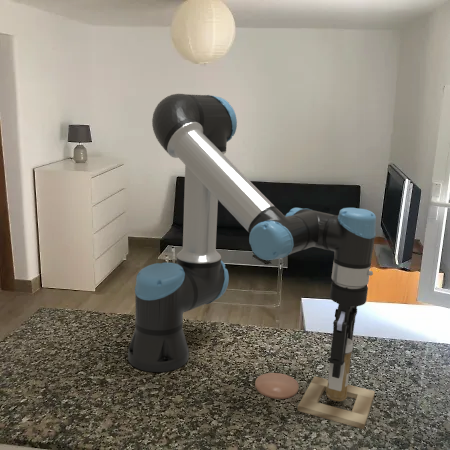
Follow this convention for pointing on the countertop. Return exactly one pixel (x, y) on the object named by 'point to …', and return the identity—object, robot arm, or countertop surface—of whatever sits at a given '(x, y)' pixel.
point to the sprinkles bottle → (342, 394)
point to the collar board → (332, 413)
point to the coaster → (276, 385)
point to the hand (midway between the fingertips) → (337, 383)
